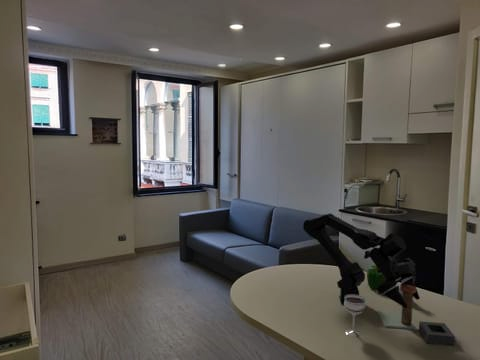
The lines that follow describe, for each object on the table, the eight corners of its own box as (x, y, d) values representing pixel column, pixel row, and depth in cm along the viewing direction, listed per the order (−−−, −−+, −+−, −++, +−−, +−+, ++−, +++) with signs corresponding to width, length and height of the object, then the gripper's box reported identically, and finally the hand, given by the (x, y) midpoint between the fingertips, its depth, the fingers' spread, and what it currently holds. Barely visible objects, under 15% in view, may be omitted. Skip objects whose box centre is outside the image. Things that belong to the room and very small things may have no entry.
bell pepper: (388, 286, 156) (390, 264, 155) (384, 293, 149) (386, 270, 148) (368, 282, 161) (370, 260, 159) (364, 288, 154) (365, 266, 152)
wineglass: (347, 325, 125) (349, 292, 123) (366, 332, 120) (368, 298, 119) (339, 333, 119) (340, 299, 118) (359, 341, 115) (361, 305, 114)
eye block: (427, 343, 114) (428, 334, 114) (418, 329, 122) (419, 321, 122) (454, 345, 113) (455, 336, 113) (443, 331, 121) (444, 323, 121)
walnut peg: (401, 326, 123) (402, 290, 121) (397, 319, 128) (398, 284, 126) (415, 327, 122) (417, 291, 121) (411, 320, 127) (413, 285, 125)
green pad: (384, 326, 124) (384, 325, 124) (377, 312, 133) (378, 311, 133) (415, 329, 122) (415, 327, 122) (406, 314, 132) (406, 313, 132)
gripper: (387, 258, 118) (419, 301, 112) (412, 246, 130) (442, 285, 124) (364, 273, 125) (392, 315, 118) (390, 261, 137) (417, 299, 131)
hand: (412, 303), depth 123 cm, fingers open, 9 cm apart
